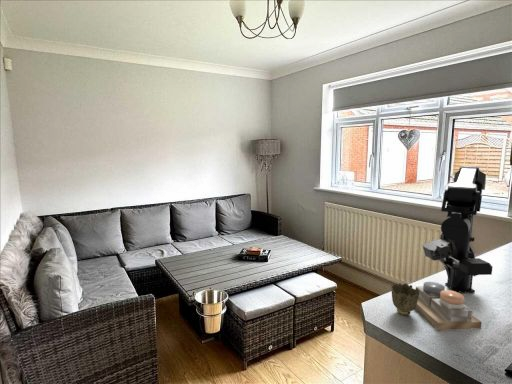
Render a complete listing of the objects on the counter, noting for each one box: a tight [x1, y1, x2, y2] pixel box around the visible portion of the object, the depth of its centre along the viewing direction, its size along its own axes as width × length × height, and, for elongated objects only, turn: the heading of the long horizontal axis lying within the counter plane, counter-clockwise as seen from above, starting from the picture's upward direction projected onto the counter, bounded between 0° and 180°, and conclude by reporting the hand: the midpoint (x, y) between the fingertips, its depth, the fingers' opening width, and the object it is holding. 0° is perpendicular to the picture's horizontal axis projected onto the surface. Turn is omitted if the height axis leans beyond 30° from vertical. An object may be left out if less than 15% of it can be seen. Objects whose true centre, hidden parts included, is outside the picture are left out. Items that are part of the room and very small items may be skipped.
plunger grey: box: [422, 281, 446, 295], centre depth 94 cm, size 6×6×4 cm
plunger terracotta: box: [440, 289, 465, 309], centre depth 86 cm, size 6×6×4 cm
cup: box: [391, 282, 420, 317], centre depth 90 cm, size 8×7×8 cm
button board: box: [414, 285, 483, 331], centre depth 90 cm, size 12×16×5 cm
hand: (452, 286), depth 85 cm, fingers closed
